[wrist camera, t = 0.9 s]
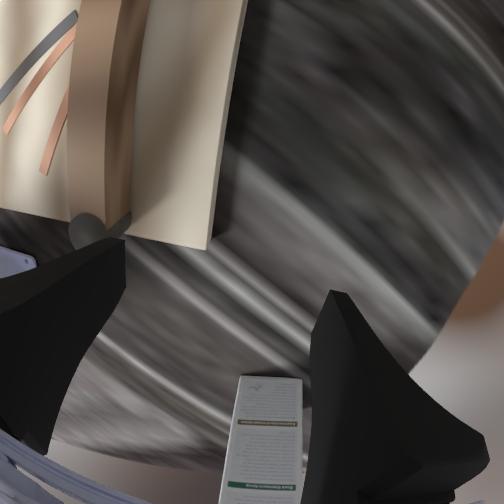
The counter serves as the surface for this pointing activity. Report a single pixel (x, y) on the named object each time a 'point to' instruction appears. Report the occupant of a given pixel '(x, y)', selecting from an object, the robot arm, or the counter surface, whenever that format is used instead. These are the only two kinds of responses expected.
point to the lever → (102, 117)
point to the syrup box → (265, 443)
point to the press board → (145, 115)
